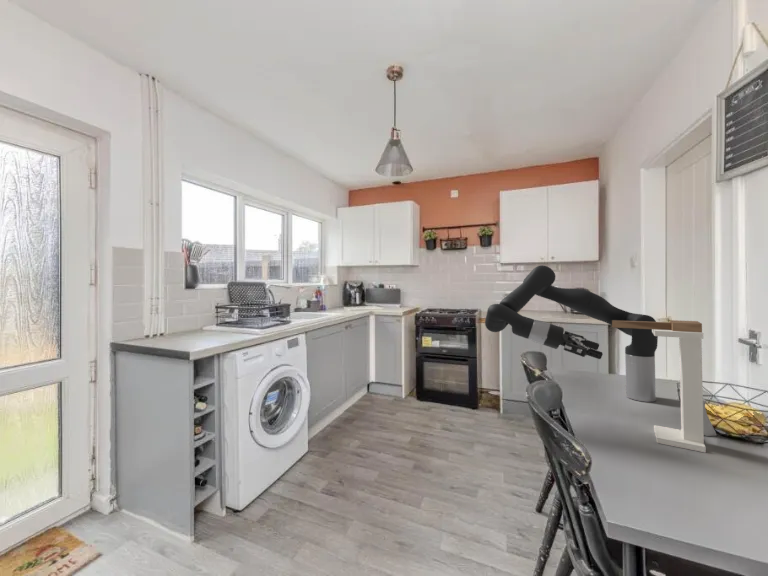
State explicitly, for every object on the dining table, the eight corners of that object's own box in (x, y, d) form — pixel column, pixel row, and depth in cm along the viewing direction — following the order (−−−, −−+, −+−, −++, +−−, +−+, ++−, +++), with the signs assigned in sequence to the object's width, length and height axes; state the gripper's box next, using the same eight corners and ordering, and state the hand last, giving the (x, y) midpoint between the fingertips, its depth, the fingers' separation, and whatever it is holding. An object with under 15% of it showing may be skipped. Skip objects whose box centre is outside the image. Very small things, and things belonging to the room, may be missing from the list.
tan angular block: (612, 325, 106) (612, 318, 106) (697, 329, 94) (696, 321, 94) (612, 328, 100) (611, 320, 100) (702, 332, 88) (701, 323, 88)
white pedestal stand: (654, 429, 101) (651, 326, 101) (698, 438, 95) (696, 328, 95) (657, 442, 93) (654, 330, 93) (705, 452, 87) (703, 333, 87)
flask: (723, 437, 95) (722, 403, 95) (693, 436, 96) (693, 402, 96) (704, 427, 102) (703, 395, 102) (677, 425, 104) (676, 394, 104)
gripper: (542, 337, 117) (593, 354, 110) (541, 350, 104) (598, 370, 98) (549, 318, 115) (601, 334, 108) (548, 329, 102) (607, 348, 96)
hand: (600, 351), depth 103 cm, fingers open, 8 cm apart
